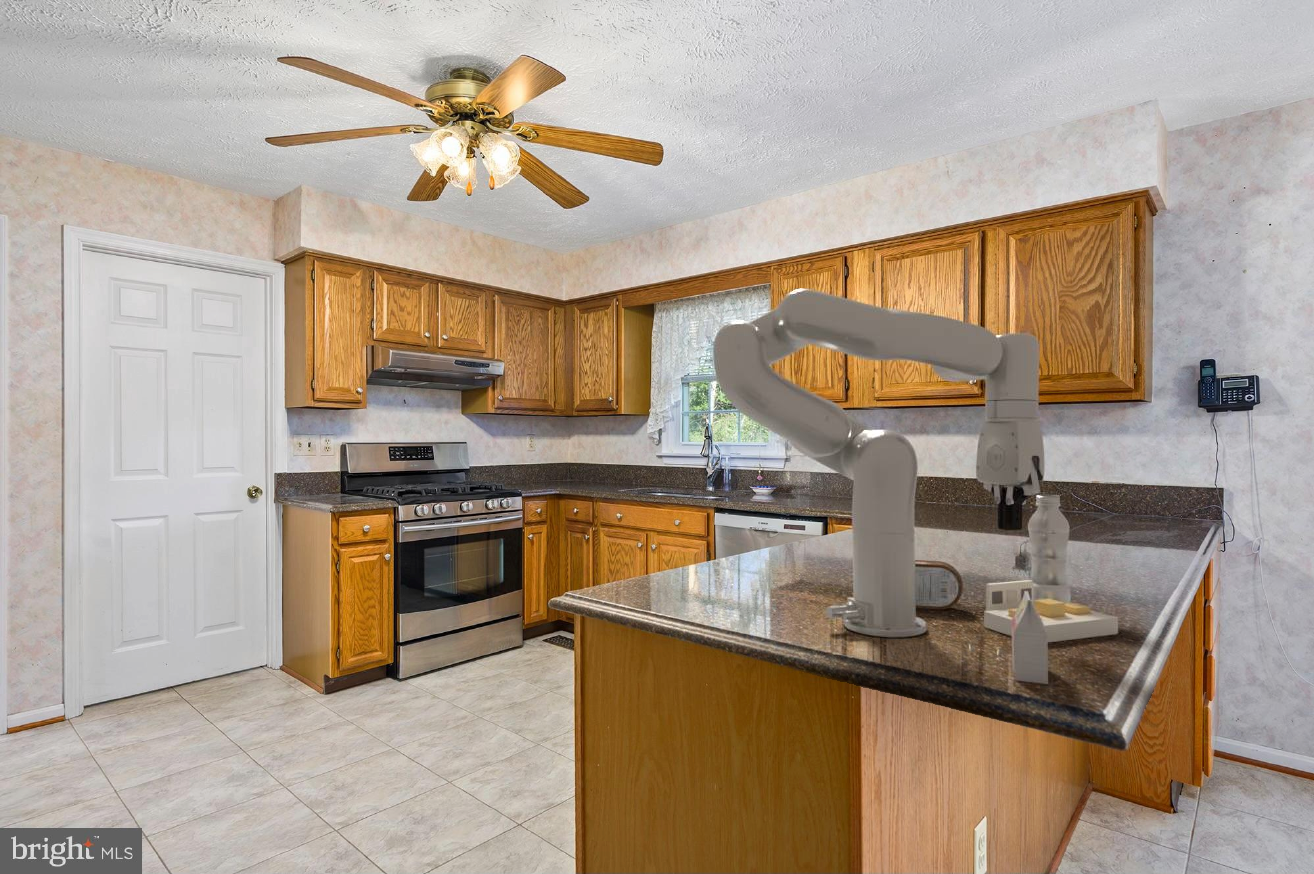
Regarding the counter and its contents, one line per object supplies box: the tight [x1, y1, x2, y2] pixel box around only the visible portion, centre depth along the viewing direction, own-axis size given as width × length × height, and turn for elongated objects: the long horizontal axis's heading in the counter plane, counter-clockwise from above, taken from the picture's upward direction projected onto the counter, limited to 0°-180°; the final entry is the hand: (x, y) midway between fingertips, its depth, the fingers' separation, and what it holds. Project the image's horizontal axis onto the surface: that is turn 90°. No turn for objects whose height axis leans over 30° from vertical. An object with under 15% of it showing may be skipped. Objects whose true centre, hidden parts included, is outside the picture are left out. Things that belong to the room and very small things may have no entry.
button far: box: [1065, 602, 1091, 615], centre depth 112 cm, size 3×3×3 cm
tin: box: [915, 559, 964, 611], centre depth 127 cm, size 15×3×8 cm, turn 71°
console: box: [983, 608, 1119, 643], centre depth 111 cm, size 16×10×2 cm, turn 107°
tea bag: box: [1011, 591, 1049, 685], centre depth 91 cm, size 4×7×10 cm, turn 155°
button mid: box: [1034, 599, 1065, 618], centre depth 111 cm, size 3×3×3 cm
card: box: [985, 579, 1033, 611], centre depth 118 cm, size 9×1×6 cm, turn 107°
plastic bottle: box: [1027, 494, 1072, 606], centre depth 123 cm, size 6×7×20 cm
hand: (1009, 529), depth 112 cm, fingers closed
